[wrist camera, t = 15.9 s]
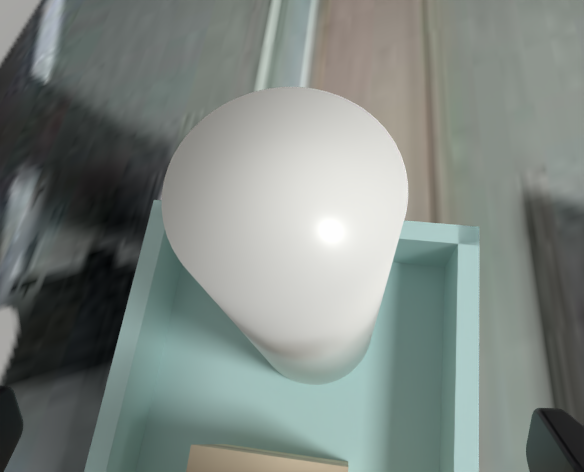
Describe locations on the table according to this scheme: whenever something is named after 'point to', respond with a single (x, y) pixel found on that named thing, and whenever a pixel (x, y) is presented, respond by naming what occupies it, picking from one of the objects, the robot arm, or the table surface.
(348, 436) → the tote
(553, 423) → the robot arm
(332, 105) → the white tapered cylinder
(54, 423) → the table surface
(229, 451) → the cube
